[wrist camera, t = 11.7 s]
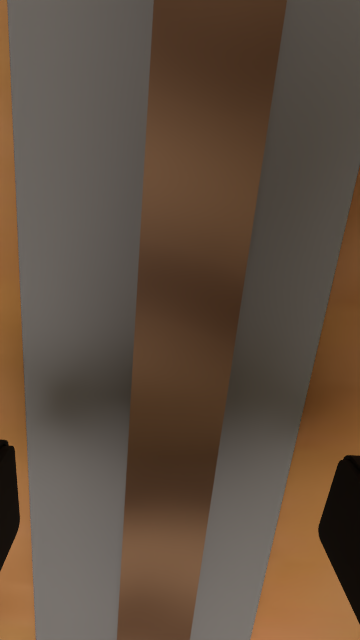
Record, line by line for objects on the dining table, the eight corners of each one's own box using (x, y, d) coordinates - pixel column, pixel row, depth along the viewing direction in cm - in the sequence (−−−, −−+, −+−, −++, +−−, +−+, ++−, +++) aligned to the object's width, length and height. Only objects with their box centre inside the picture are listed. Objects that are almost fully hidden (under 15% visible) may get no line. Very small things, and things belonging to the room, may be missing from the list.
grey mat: (9, -151, 9) (-1, -177, 8) (404, -78, 10) (419, -96, 9) (42, 681, 19) (38, 695, 18) (235, 677, 20) (238, 690, 19)
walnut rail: (160, -46, 9) (161, -133, 7) (267, -29, 9) (302, -106, 7) (117, 669, 18) (111, 736, 16) (173, 669, 18) (175, 734, 16)
